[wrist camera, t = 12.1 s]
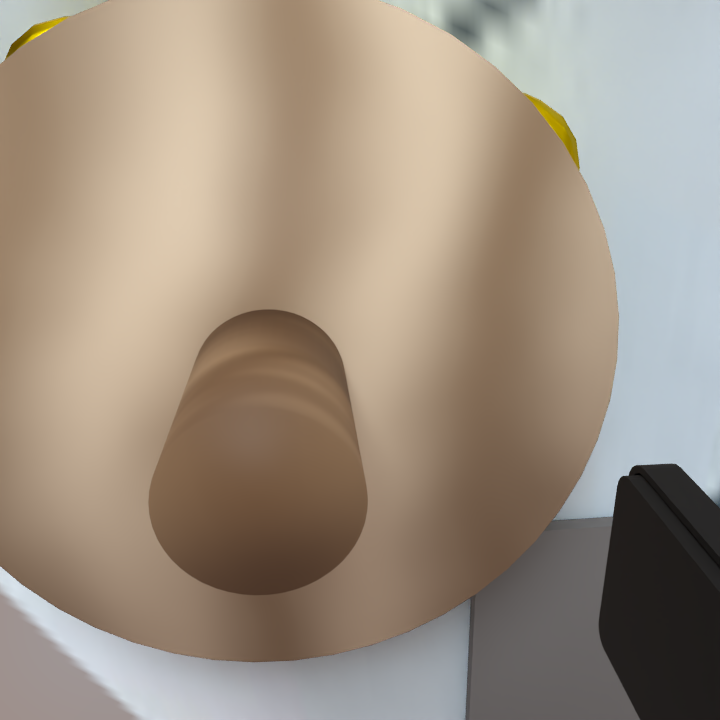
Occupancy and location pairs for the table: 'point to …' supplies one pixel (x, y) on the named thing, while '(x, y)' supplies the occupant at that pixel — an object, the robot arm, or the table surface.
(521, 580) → the mat
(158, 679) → the table surface
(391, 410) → the lid
